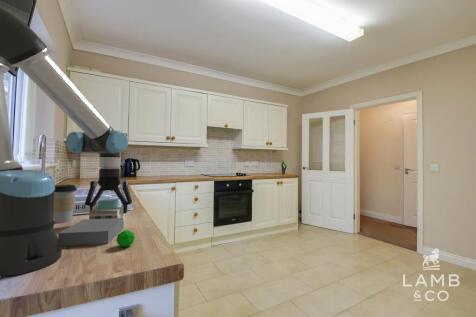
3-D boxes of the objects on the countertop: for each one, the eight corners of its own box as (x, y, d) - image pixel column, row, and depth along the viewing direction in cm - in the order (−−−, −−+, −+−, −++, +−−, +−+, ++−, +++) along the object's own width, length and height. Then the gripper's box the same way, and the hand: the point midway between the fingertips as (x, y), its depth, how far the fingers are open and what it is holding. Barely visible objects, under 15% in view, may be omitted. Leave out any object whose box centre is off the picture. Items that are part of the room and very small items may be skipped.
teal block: (114, 209, 94) (114, 200, 94) (98, 209, 92) (98, 200, 92) (119, 206, 99) (119, 198, 99) (103, 206, 98) (104, 198, 98)
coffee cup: (65, 224, 94) (66, 187, 94) (42, 223, 94) (43, 186, 94) (82, 218, 103) (82, 184, 103) (61, 217, 103) (61, 184, 103)
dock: (108, 243, 73) (108, 231, 73) (58, 246, 70) (58, 233, 70) (123, 228, 89) (123, 218, 89) (83, 230, 86) (83, 219, 86)
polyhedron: (127, 242, 75) (127, 227, 75) (138, 245, 72) (138, 229, 72) (113, 247, 70) (113, 231, 70) (123, 250, 68) (123, 234, 68)
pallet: (117, 226, 91) (117, 210, 91) (89, 227, 89) (89, 211, 89) (125, 218, 103) (126, 204, 103) (101, 219, 101) (101, 205, 101)
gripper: (140, 167, 102) (139, 218, 102) (83, 167, 98) (82, 220, 98) (136, 168, 94) (135, 223, 94) (74, 168, 90) (73, 225, 90)
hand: (108, 221), depth 96 cm, fingers closed on pallet, 10 cm apart
